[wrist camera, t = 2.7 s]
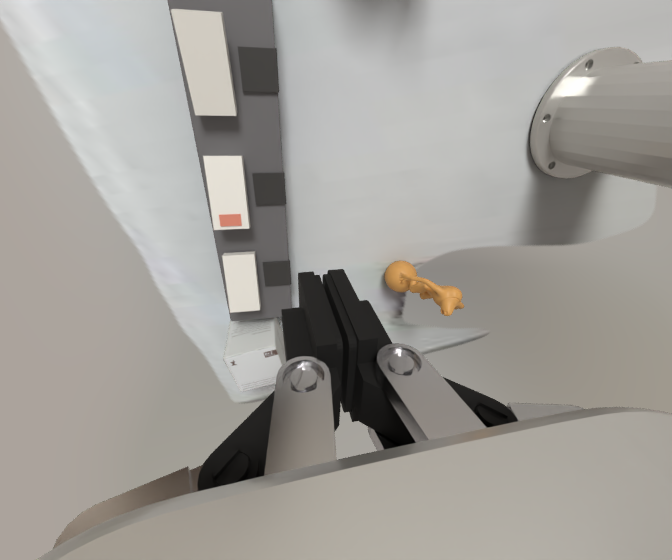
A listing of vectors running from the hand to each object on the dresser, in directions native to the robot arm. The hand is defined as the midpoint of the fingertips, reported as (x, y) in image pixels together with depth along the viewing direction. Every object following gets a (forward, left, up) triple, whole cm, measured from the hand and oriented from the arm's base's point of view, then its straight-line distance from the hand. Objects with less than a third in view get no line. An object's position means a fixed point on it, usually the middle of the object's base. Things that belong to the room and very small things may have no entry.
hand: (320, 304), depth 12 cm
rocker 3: (+6, +9, -18) cm, 21 cm away
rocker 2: (+6, 0, -18) cm, 19 cm away
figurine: (-14, +11, -24) cm, 30 cm away
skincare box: (+5, +20, -24) cm, 32 cm away
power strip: (+4, -3, -24) cm, 24 cm away
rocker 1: (+6, -9, -18) cm, 21 cm away
